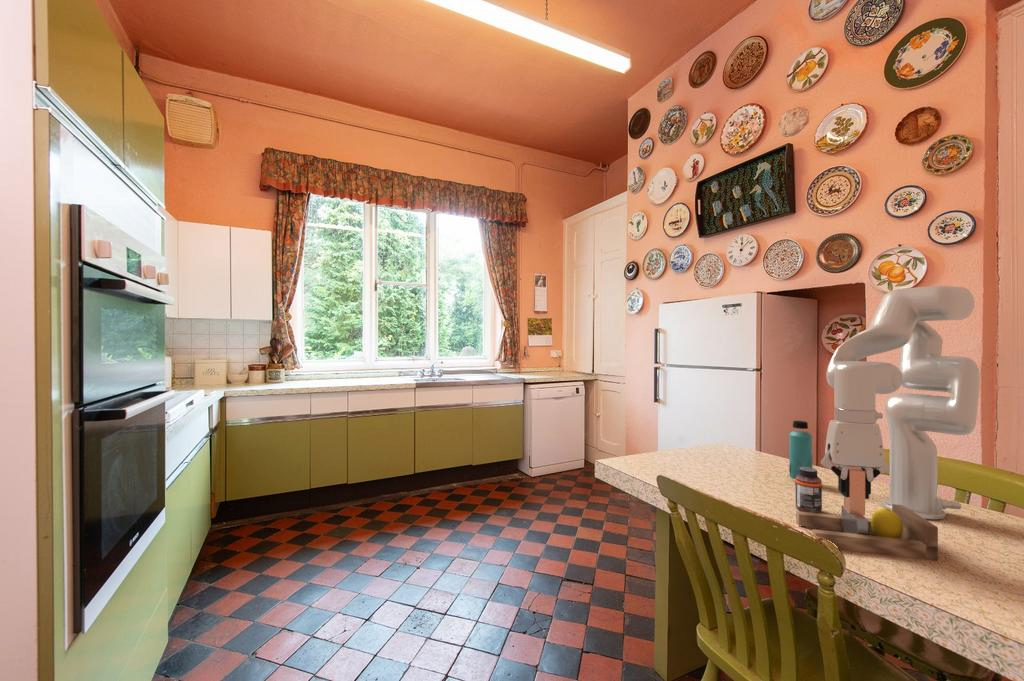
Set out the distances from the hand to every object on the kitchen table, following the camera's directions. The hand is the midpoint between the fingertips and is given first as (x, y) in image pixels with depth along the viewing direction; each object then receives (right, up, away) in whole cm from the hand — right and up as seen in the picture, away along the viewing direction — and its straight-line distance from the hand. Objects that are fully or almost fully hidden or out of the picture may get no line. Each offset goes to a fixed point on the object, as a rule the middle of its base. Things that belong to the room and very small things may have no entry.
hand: (854, 495), depth 101 cm
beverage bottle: (+14, -11, +41) cm, 44 cm away
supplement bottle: (+1, -11, +17) cm, 20 cm away
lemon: (+6, -10, -2) cm, 12 cm away
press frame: (+1, -10, 0) cm, 10 cm away
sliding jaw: (0, -10, 0) cm, 10 cm away
